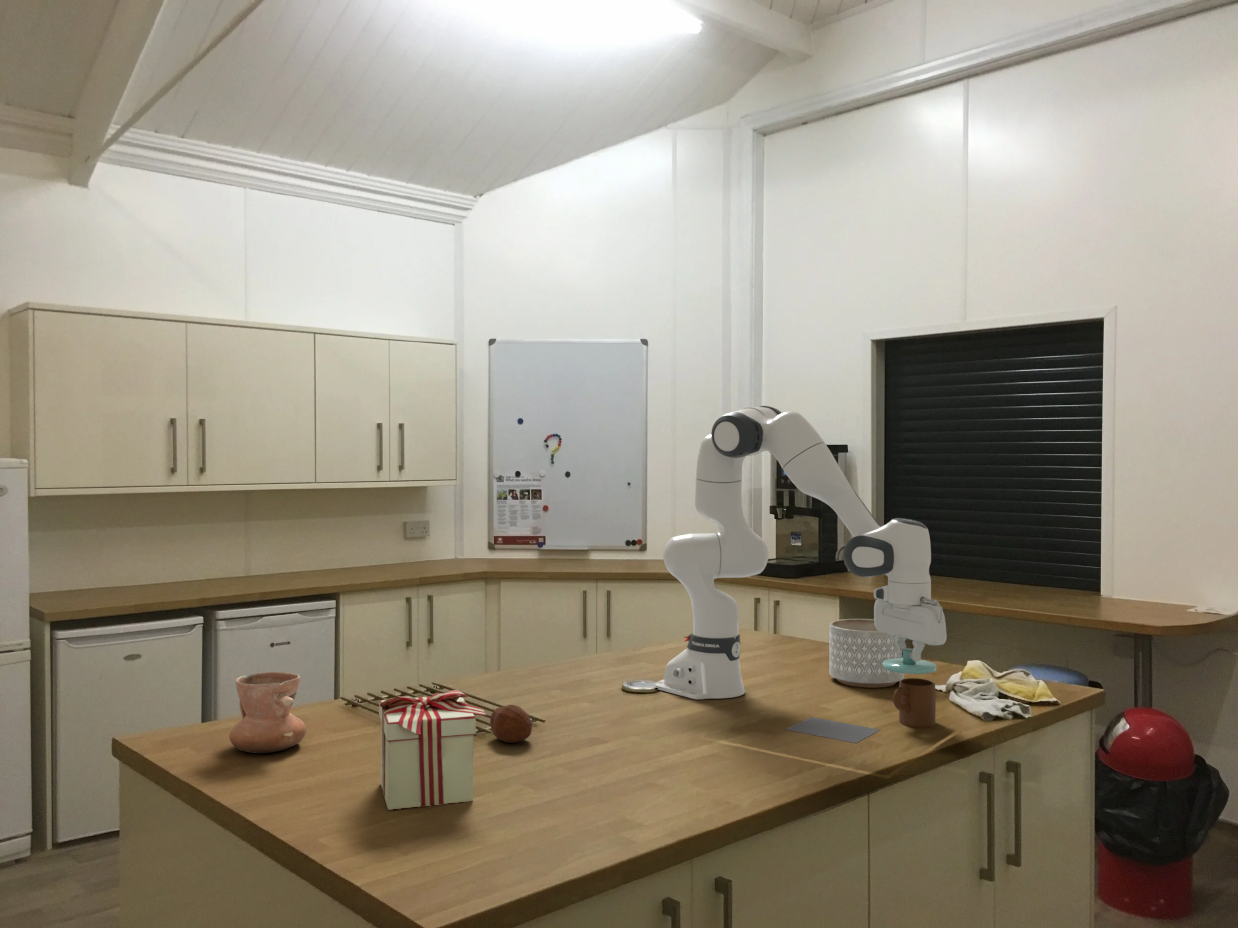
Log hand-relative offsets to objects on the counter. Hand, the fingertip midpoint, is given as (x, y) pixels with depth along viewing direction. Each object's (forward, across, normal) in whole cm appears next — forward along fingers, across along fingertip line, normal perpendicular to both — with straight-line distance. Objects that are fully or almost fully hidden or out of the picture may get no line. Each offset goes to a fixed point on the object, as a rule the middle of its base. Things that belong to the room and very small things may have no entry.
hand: (909, 659), depth 212 cm
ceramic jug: (+15, +35, +129) cm, 134 cm away
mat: (+15, +3, +17) cm, 23 cm away
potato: (+15, +21, +82) cm, 86 cm away
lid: (+2, 0, 0) cm, 2 cm away
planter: (+14, +39, -17) cm, 45 cm away
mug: (+15, 0, 0) cm, 15 cm away
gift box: (+15, -4, +103) cm, 104 cm away
